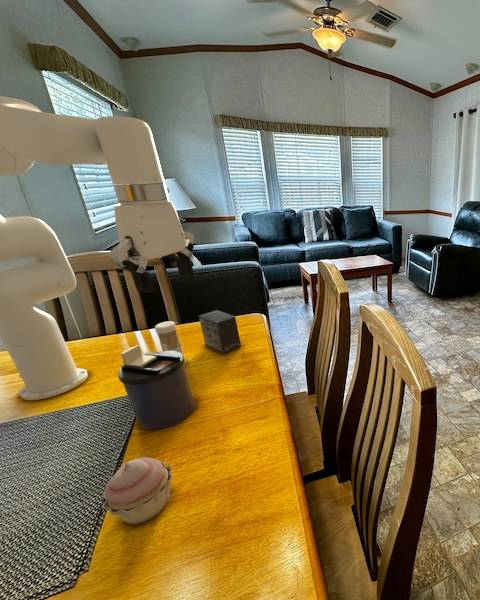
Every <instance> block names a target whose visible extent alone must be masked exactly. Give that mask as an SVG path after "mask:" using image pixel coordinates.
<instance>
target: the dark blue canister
mask: <svg viewBox="0 0 480 600" xmlns="http://www.w3.org/2000/svg"><path fill="white" fill-rule="evenodd" d="M142 354H143V355H151V356H157V359H155V360H153V361H152V362H150V363H148V364H147V365H145V366H143V367H136V366H129V365H123V364H121V365H120V369H119V370H118V372H117V377H118V380H119V381H120V383H122V384H123V387H124V389H125V392H126V395H127V397H128V400H129V403H130V405H131V407H132V410H133V413H134V415H135V418H136V420H137V423H138V426H139V427H140V428H141V429H143V430H146V431H157V430H158V431H159V430H162V429H166V428H169V427H172V426H174V425H177V424H179V423H180V422H182V421H184V420H185V419H187V418H188V417H189V416H190V415H191V414H192V413H193V412H194V410H195V408H196V401H195V398H194V394H193V391H192V387H191V384H190V381H189V378H188V374H187V370H186V368H185V367H186V366H184V359H185V357H184V358H183V355H184V354H183V355H182V354H181V353H180V352H177V351H163V350H160V351H156V352H147V351H145V352H143V353H142Z"/></svg>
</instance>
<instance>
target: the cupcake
mask: <svg viewBox="0 0 480 600" xmlns="http://www.w3.org/2000/svg"><path fill="white" fill-rule="evenodd" d="M172 469H173V466H171V465H165V462H164V461H160V460H159V459H156V458H153V457H145V456H143V457H139V458H135V459H132V460H129V461H127V462H125V463H124V464H123V465H121V466H120V468H118V470H117V471H115V473H114V474H113V476H112V477H111V478H110V479H109V481H108V483H107V484H106V486H105V488H104V492H103V495H102V498H104V499H105V501H104V502H103V503H102V506H101V509H104V510H107V511H109V515H113V516H116V517H118V518H120V519H121V520H122V521H123V522H124V523H125V524H130V525H138V524H142V523H144V522H147V521H149V520H152V519H153V518H154V517H156V516H157V515H158V514H160V513H161V512H162V511H163V510H164V508H165V507H166V506H167V504H168V503H169V500H170V496H171V482H172V478H173V474H172Z"/></svg>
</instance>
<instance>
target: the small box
mask: <svg viewBox="0 0 480 600" xmlns="http://www.w3.org/2000/svg"><path fill="white" fill-rule="evenodd" d="M197 317H198V320H199V323H200V327H201V328H200V329H201V332H202V334H203V336H202V337H203V340H204V345H205V346H206V347H208V348H210V349H212V350H214V351H216V352H218V353H221V354H226V353H229V352H231V351H233V350H235V349H237V348H240V347H241V346H242V343H241V338H240V334H239V328H238V324H237V318H236V316H235V315H232V314H229V313H226V312H224V311H221V310H218V309H216V310H213V311H210V312H207V313H204V314H200V315H198V316H197Z"/></svg>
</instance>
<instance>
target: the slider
mask: <svg viewBox="0 0 480 600" xmlns="http://www.w3.org/2000/svg"><path fill="white" fill-rule="evenodd" d="M120 356H121V359H122V362H123V363H122V365H129V366H136V367H143V366H145V365H147V364H148V363H150V362H152V361H153V360H155V359H157V356H151V355H143V353H142V350H141V347H140V345H136V344H135V345H134V346H132V347H129V348H128V349H126V350H123V351H122V352H120Z"/></svg>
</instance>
